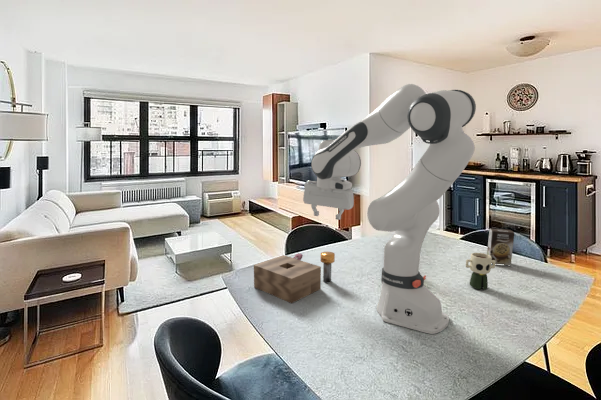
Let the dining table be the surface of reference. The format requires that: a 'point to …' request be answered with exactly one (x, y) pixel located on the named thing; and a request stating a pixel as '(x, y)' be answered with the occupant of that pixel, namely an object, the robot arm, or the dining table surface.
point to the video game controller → (298, 256)
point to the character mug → (480, 269)
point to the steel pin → (327, 265)
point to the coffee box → (500, 245)
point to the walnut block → (287, 278)
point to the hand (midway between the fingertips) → (327, 217)
